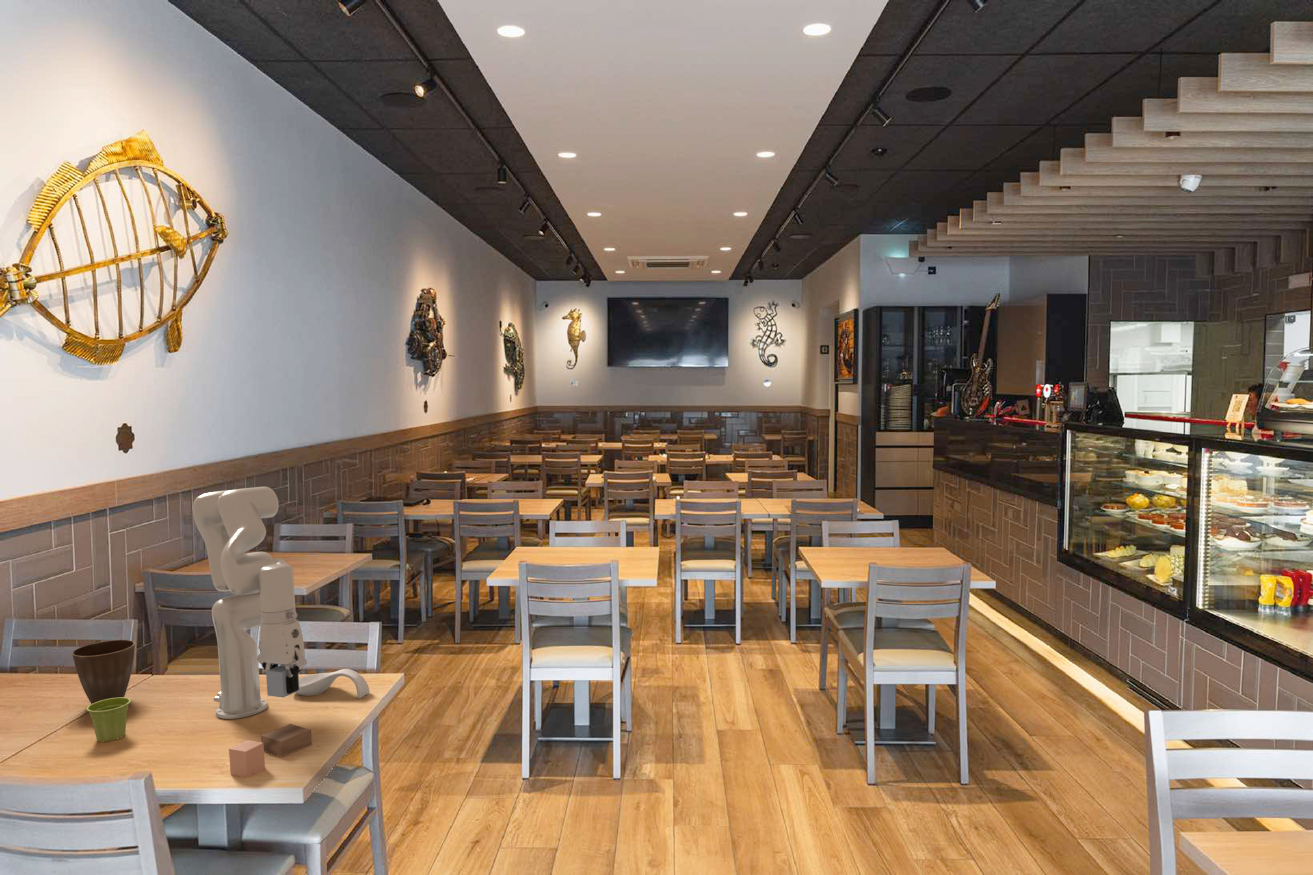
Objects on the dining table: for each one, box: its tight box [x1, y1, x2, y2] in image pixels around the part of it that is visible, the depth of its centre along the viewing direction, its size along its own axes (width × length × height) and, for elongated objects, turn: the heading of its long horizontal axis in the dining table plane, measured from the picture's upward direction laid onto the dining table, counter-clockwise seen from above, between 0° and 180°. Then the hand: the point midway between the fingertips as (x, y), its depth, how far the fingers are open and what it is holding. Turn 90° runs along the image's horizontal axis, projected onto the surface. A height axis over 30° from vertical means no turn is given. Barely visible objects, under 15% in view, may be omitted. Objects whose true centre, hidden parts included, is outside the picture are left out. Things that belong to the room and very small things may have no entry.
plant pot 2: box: [86, 696, 132, 742], centre depth 218 cm, size 9×9×9 cm
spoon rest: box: [294, 668, 370, 700], centre depth 245 cm, size 24×12×7 cm, turn 74°
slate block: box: [265, 665, 300, 698], centre depth 207 cm, size 5×5×6 cm
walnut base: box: [260, 723, 313, 758], centre depth 208 cm, size 8×8×4 cm
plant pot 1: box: [71, 639, 136, 705], centre depth 243 cm, size 15×15×16 cm
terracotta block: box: [228, 739, 266, 779], centre depth 195 cm, size 5×5×6 cm
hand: (283, 689), depth 207 cm, fingers closed on slate block, 5 cm apart
